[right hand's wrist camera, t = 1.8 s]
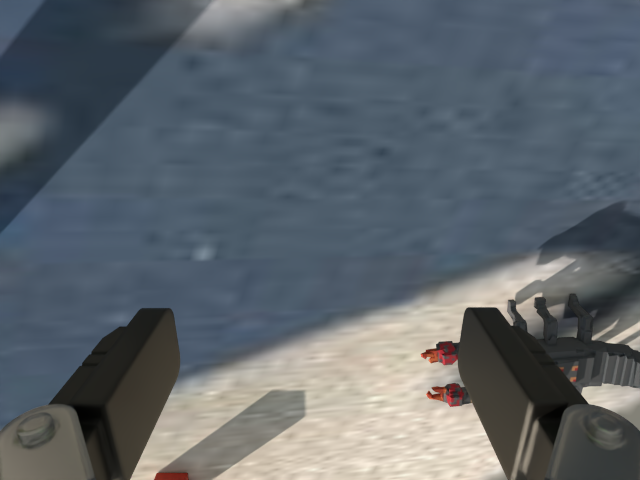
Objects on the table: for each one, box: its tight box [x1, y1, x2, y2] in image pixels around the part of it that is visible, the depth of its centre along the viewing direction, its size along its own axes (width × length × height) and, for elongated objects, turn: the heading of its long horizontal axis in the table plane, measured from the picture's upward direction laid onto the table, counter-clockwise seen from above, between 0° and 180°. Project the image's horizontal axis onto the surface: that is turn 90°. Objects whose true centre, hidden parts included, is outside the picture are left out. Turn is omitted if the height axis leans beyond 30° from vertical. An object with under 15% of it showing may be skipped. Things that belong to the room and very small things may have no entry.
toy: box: [421, 294, 640, 407], centre depth 40 cm, size 13×27×18 cm, turn 96°
